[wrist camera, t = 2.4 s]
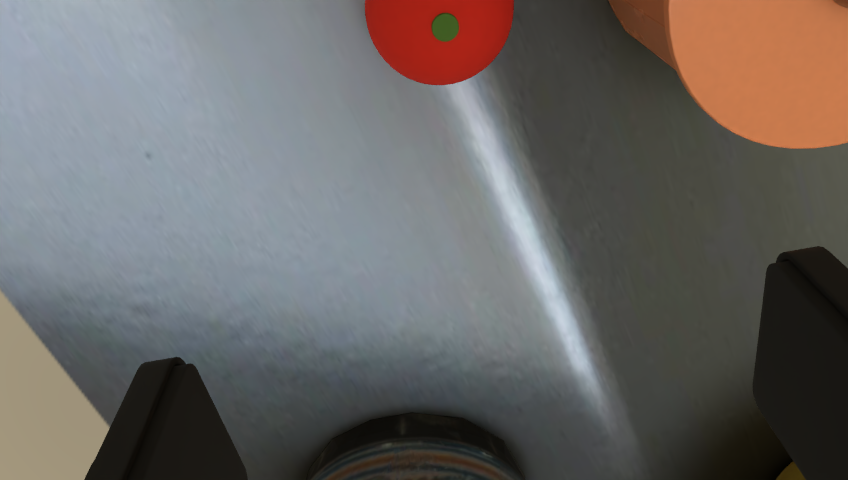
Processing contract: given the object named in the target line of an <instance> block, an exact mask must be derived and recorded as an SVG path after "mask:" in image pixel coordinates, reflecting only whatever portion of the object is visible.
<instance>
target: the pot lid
mask: <svg viewBox="0 0 848 480" xmlns="http://www.w3.org/2000/svg"><path fill="white" fill-rule="evenodd" d="M663 6H664V22H665V33H666V37H667V42H668V47H669V52H670V55H671V58H672V61H673V63H674V66H675V69H676V72H677V74H678V76H679V77H680V79H681V81H682V83H683V85H684V87H685V88H686V90H687V92H688V93H689V94H690V95H691V97H692V98H693V99H694V100H695V102H696V103H697V104H698V105H699V107H701V108H702V109H703V110H704V111H705V112H706V113H707V114H708V115H709V116H711V117H712V118H713V119H714V120H715V121H716V122H717V123H719V124H720V125H722V126H724V127H725V128H727V129H728V130H730V131H731V132H733V133H735V134H737V135H739V136H742V137H744V138H746V139H749V140H751V141H754V142H758V143H761V144H765V145H769V146H774V147H783V148H792V149H796V148H820V147H827V146H835V145H840V144H844V143H848V0H664V5H663Z"/></svg>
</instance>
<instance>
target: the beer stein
mask: <svg viewBox="0 0 848 480" xmlns="http://www.w3.org/2000/svg"><path fill="white" fill-rule="evenodd" d="M307 480H525V476H524V474H523V472H522V471H521V469H520V467H519V466H518V464H517V462H516V461H515V459H514V458H513V456H512V454H511V453H510V451H509V449H508V448H507V446H506V444H505V443H504V441H503V440H501V439H499V438H498V437H496V436H494V435H492V434H490V433H489V432H487V431H485V430H483V429H481V428H480V427H478V426H476V425H474V424H472V423H471V422H469V421H467V420H465V419H463V418H454V417H445V416H436V415H427V414H419V413H408V414H403V415H397V416H392V417H386V418H381V419H375V420H370V421H368V422H366V423H364V424H362V425H360V426H358V427H356V428H354V429H352V430H350V431H348V432H346V433H344V434H342V435H340V436H338V437H335V438H333V439H332V441H331V442H330V443H329V444H328V446H327V447H326V448H325V450H324V451H323V452H322V453H321V455H320V456H319V457H318V458H317V460H316V461H315V462H314V463H313V465H312V466H311V467H310V469H309V472H308V476H307Z"/></svg>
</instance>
